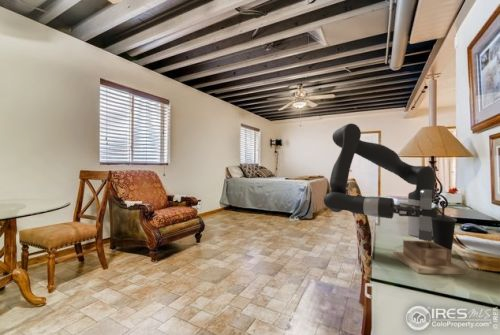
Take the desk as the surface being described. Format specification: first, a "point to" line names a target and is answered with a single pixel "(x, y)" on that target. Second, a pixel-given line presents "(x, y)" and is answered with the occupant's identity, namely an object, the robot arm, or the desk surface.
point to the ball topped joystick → (425, 221)
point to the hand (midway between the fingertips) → (436, 213)
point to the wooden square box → (427, 258)
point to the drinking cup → (443, 229)
